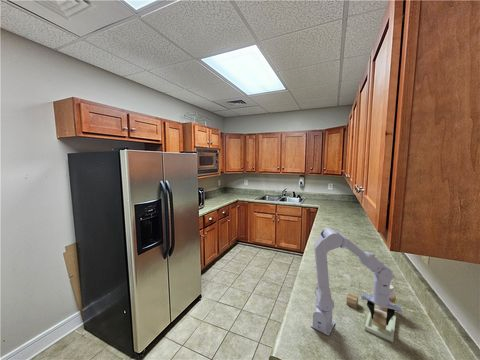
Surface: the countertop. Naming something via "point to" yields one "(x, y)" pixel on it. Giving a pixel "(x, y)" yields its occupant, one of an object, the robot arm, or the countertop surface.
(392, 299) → the supplement bottle
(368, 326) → the tray
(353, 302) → the cube
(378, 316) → the cube
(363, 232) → the countertop surface
